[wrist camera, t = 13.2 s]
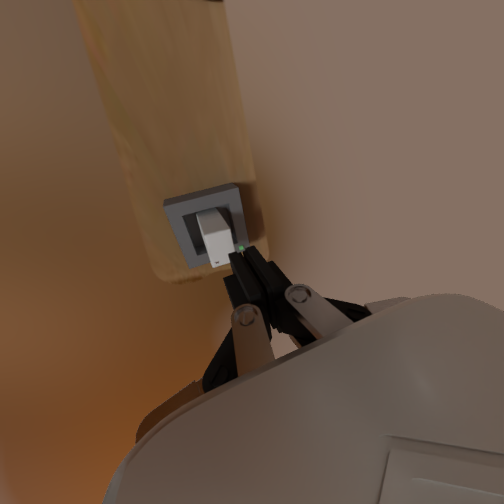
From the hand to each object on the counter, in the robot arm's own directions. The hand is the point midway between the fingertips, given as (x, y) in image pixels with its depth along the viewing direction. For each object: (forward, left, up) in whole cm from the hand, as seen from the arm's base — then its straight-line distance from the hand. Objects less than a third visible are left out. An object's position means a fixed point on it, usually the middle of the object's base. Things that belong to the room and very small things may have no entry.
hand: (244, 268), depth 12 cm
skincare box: (+8, 0, -29) cm, 30 cm away
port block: (+8, 0, -29) cm, 30 cm away
